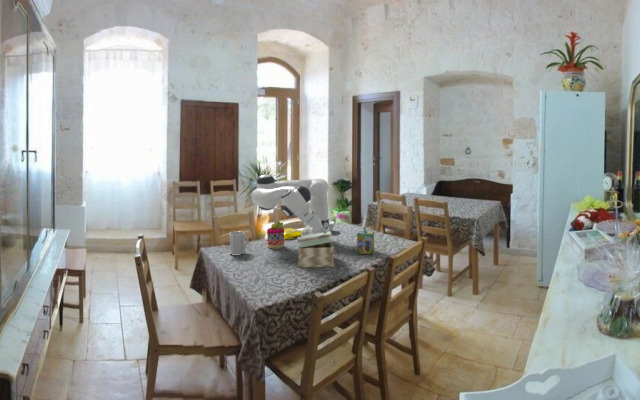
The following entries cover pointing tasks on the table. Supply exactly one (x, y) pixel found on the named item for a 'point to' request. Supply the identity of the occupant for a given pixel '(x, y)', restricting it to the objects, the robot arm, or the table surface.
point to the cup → (238, 242)
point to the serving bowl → (331, 225)
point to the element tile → (291, 233)
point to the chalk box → (365, 242)
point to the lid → (314, 239)
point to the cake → (276, 236)
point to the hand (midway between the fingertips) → (326, 232)
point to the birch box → (316, 255)
